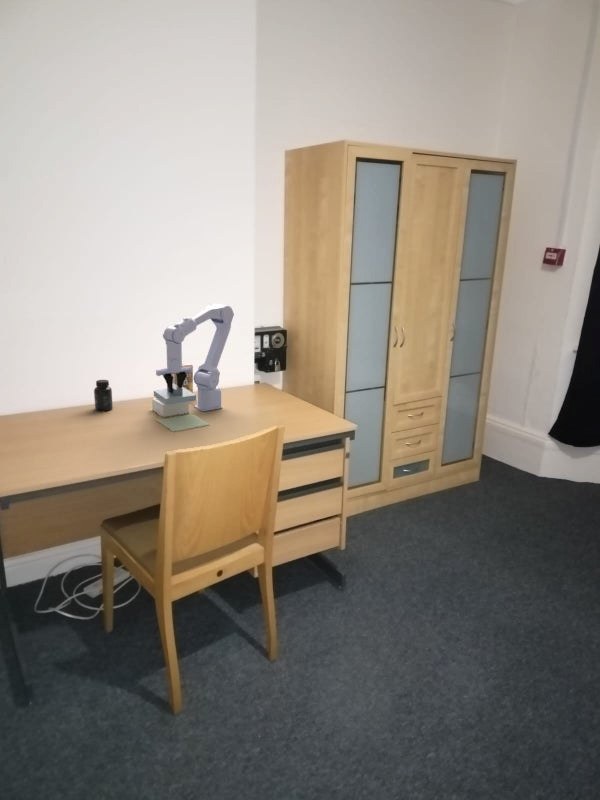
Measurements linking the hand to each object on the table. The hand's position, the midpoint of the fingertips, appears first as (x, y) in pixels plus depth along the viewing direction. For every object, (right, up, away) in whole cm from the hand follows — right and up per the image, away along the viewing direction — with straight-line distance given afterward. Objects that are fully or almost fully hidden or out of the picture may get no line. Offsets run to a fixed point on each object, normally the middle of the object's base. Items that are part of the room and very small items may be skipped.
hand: (175, 391), depth 225 cm
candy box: (-3, -3, +27) cm, 27 cm away
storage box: (-4, -8, +9) cm, 13 cm away
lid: (0, -3, +1) cm, 3 cm away
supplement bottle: (-31, -7, +8) cm, 33 cm away
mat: (+4, -12, -4) cm, 14 cm away
